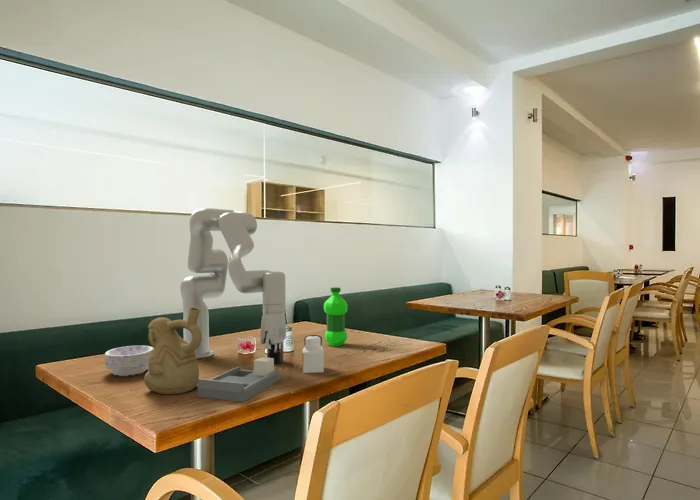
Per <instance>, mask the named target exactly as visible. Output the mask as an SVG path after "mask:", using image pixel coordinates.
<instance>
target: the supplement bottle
mask: <svg viewBox="0 0 700 500" xmlns="http://www.w3.org/2000/svg"><path fill="white" fill-rule="evenodd" d="M266 350H267V351H266V353H267V354H266V358H269V352H268V349H266ZM279 352H280V363H279V364H282V363H283V362H284V342H283V343H282V344H281V350H280V351H279Z"/></svg>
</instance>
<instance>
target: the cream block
mask: <svg viewBox="0 0 700 500" xmlns="http://www.w3.org/2000/svg"><path fill="white" fill-rule="evenodd" d="M253 370H254V375H259V376H267V375H269V374H271V373H272V372H274V371H275V364H274V358H267V357H263V356H262V357H261V356H260V357H258V358H256V359H253Z"/></svg>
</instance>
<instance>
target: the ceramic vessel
mask: <svg viewBox="0 0 700 500" xmlns="http://www.w3.org/2000/svg"><path fill="white" fill-rule="evenodd" d="M199 312H200V310H199V309H198V308H190V309H189V316H188V320H183V319H175V320H174V319H173V320H171V319H170V318H168V317H164V316H163V317H162V316H161V317H156V318H154V319H153V320H151V322H150V323H149V324H148V325H147V328H148V335H147V339H148V342H149V344H150V345H151V346H150V347H153V349H154V350H153V352H152V353H151V355H150V358H149V365H148V371H147V372H146V373H145V374H144V377H143V382H144V385H145V387H146V388H147V389H148V390H149V391H151V390H152V391H151V392H155V393H158V394H164V395H177V394H184V393H186V392H190V391H192V390H194V389H195V388H197V387H198V380H197V379H200V368H199V363H198V359H197V358H196V353H195V350H196V349H197V348H198V347H199V345H200V343H201V338H202V337H201V331H200V329H199V327H198V326H197V325H196V324H197V319H198V315H199ZM179 328H180V329H184V328H185V329H188V330H189V331H190V332H191V333H192V341H191V342H190V343H187V342H186V341H185V340H184V338H183V337H181V335H179V333H178V332H177V329H179Z"/></svg>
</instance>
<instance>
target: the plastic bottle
mask: <svg viewBox="0 0 700 500" xmlns="http://www.w3.org/2000/svg"><path fill="white" fill-rule="evenodd" d="M330 292H331V296H329V298H327V300H325V302H324V304H323V311H324V313H326V331H325V333H324V339H325V341H326V343H327V344H328V345H329V346H330V345H331V347H342V345H343V344H345V342H346V341H347V339H348V333H347V331H346V313H347V312H348V309H349V307H348V306H349V305H348V303H347V302H348V301H346V300H345V299H344V298H343V297H341V296H340V293H341V287H339V286H338V287H336V286H334V287H330Z"/></svg>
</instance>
